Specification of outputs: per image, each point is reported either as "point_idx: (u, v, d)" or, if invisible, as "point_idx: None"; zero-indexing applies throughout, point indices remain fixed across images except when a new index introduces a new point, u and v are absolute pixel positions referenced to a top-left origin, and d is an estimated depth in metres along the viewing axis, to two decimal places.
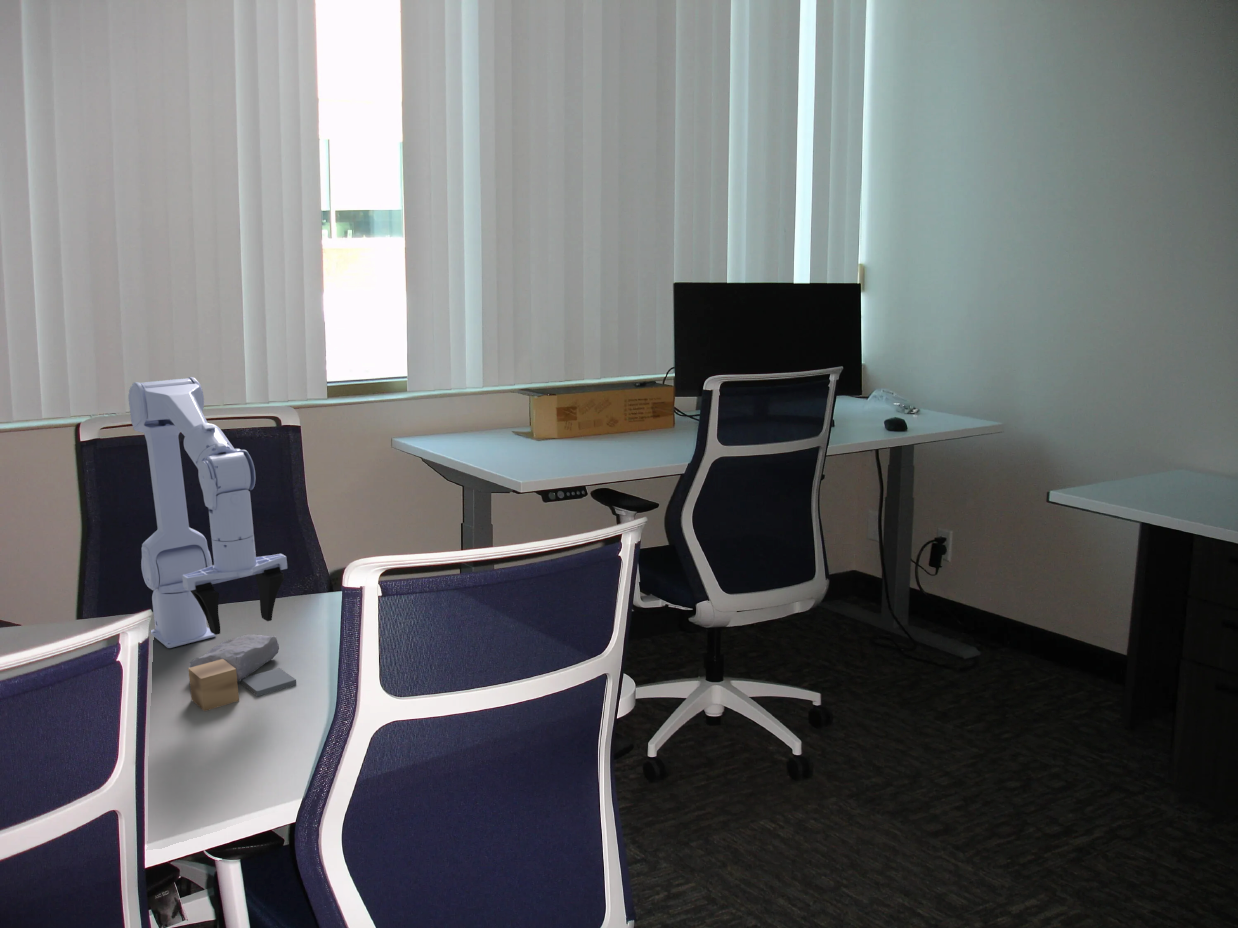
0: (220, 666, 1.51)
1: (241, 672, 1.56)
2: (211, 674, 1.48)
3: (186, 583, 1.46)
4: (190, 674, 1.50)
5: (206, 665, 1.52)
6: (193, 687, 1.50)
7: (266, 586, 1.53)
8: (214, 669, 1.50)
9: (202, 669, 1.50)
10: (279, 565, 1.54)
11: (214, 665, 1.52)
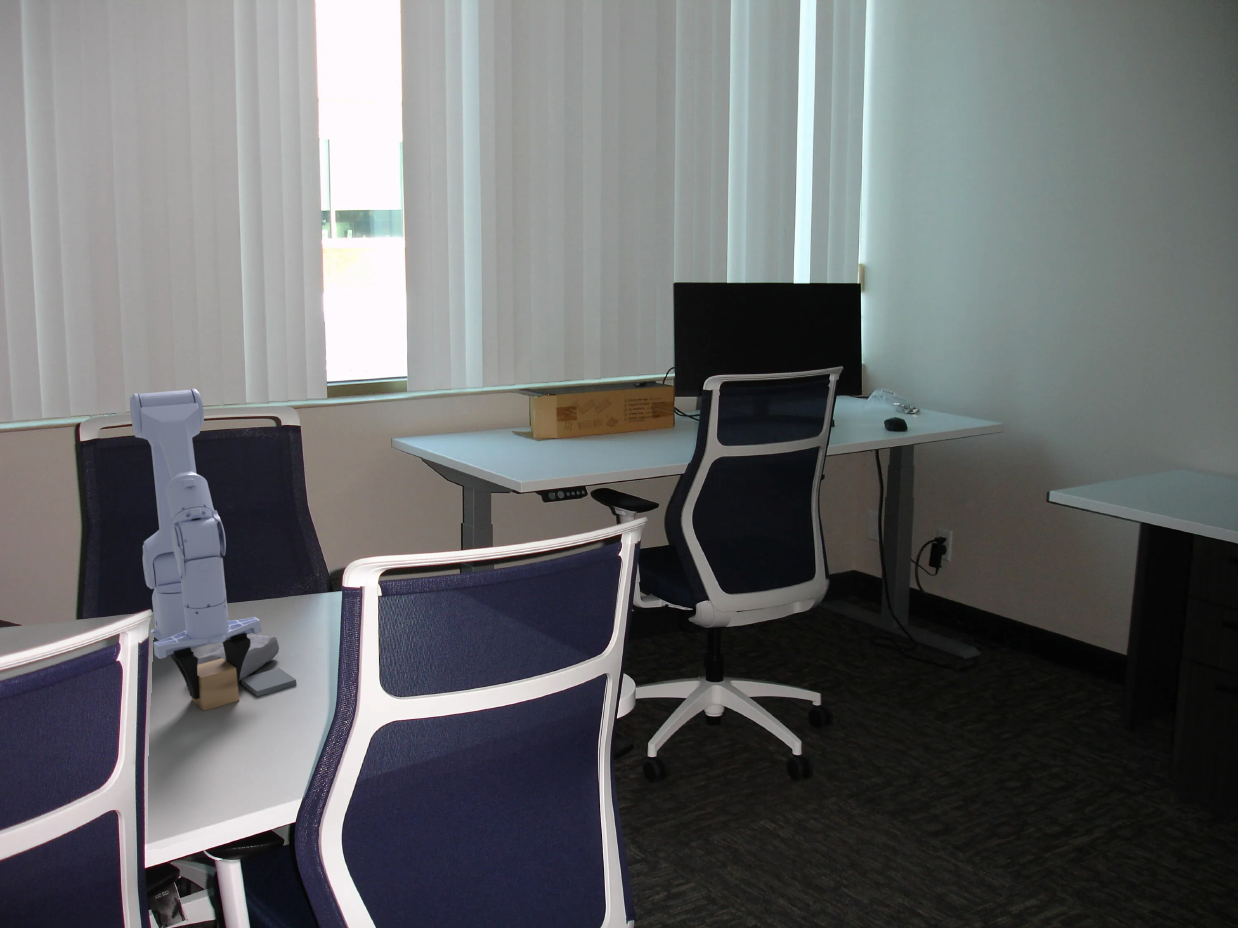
0: (220, 666, 1.51)
1: (242, 672, 1.56)
2: (211, 673, 1.48)
3: (157, 651, 1.44)
4: None
5: (206, 664, 1.52)
6: None
7: (232, 653, 1.51)
8: (214, 668, 1.50)
9: (202, 668, 1.50)
10: (253, 629, 1.53)
11: (214, 664, 1.52)
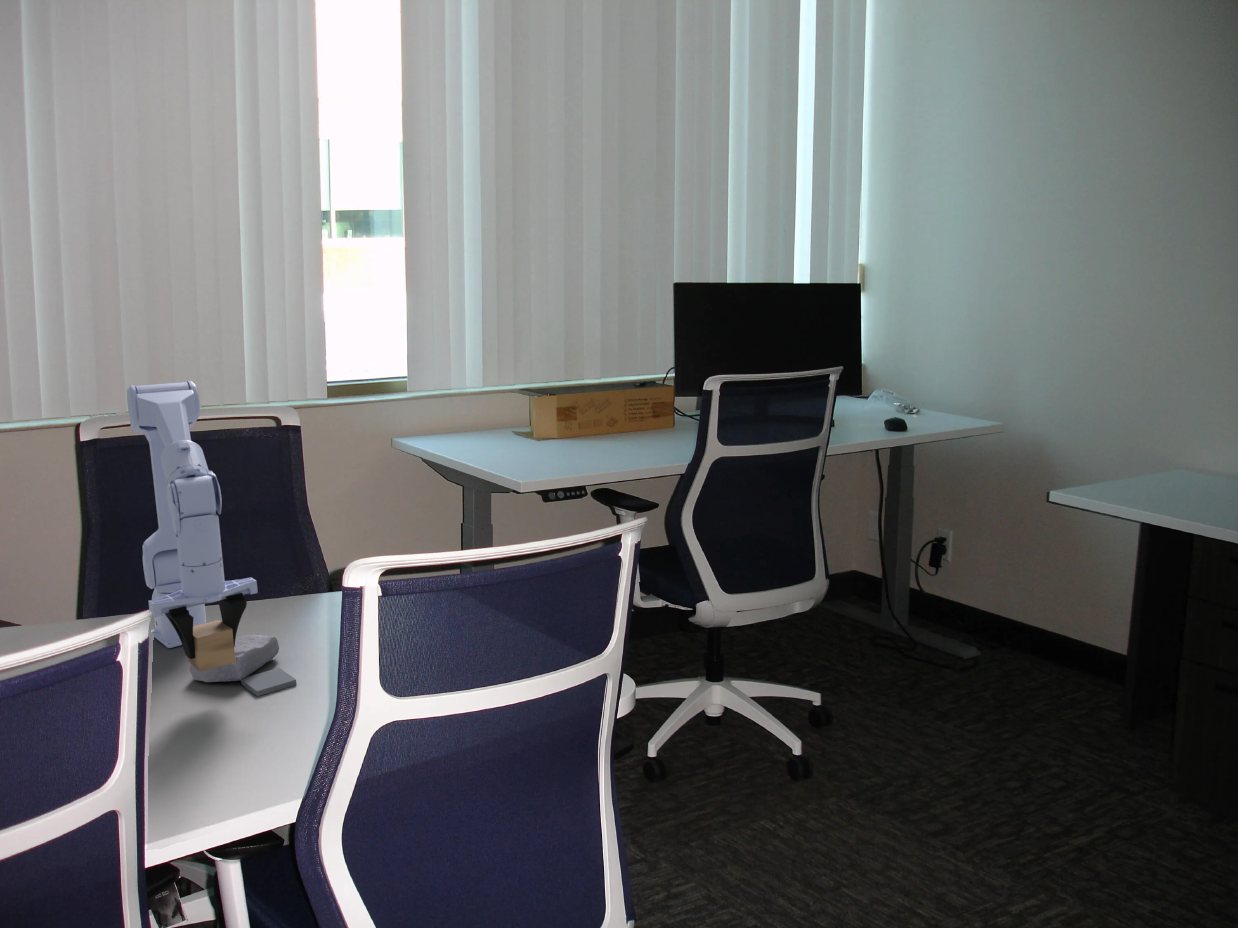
0: (217, 627, 1.50)
1: (242, 672, 1.56)
2: (207, 634, 1.47)
3: (152, 609, 1.43)
4: None
5: (202, 625, 1.50)
6: None
7: (228, 613, 1.50)
8: (210, 629, 1.49)
9: (198, 629, 1.49)
10: (249, 589, 1.52)
11: (210, 625, 1.50)
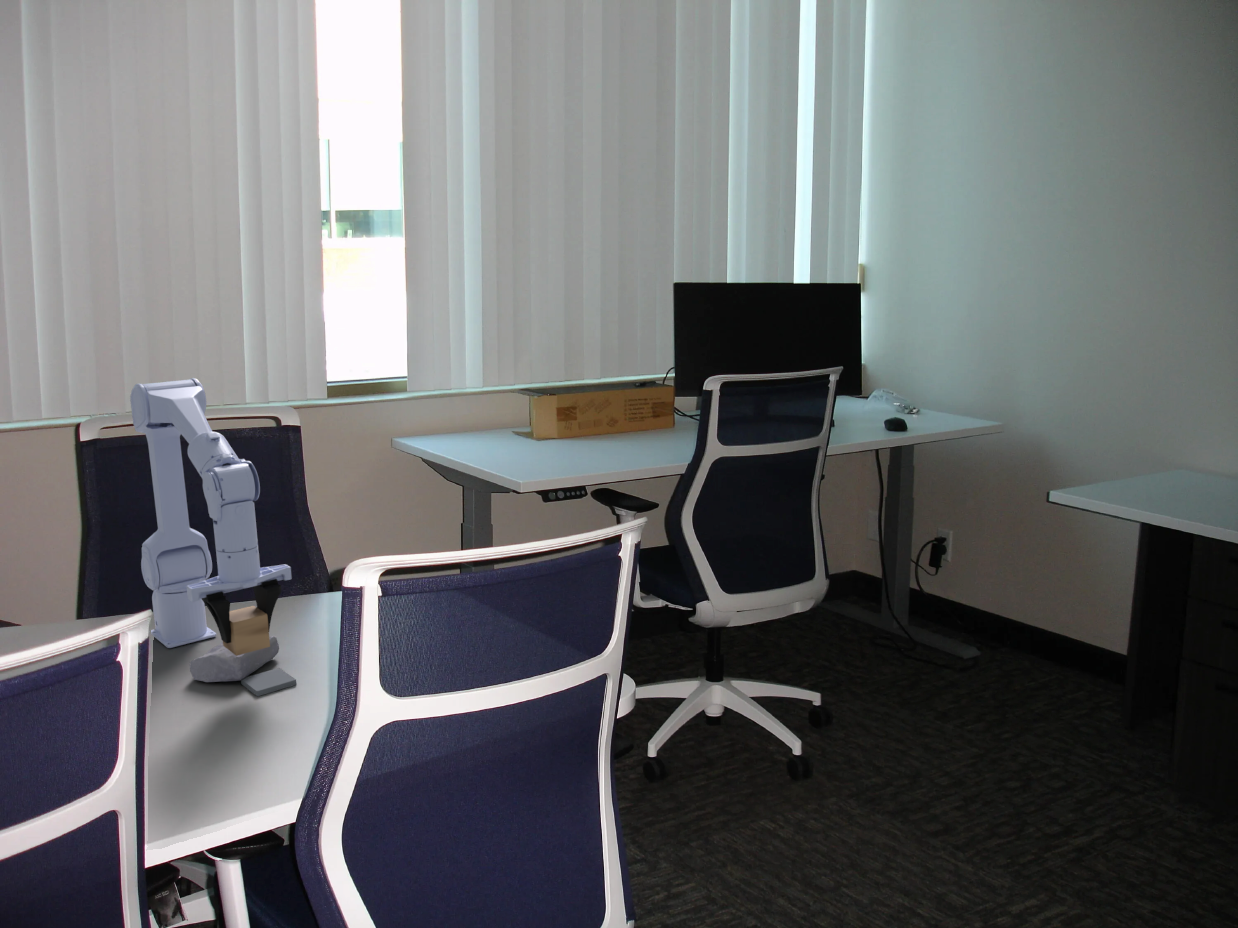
0: (252, 612, 1.53)
1: (242, 672, 1.56)
2: (243, 619, 1.50)
3: (190, 594, 1.46)
4: None
5: (238, 611, 1.53)
6: None
7: (263, 598, 1.53)
8: (245, 614, 1.52)
9: (234, 614, 1.52)
10: (283, 576, 1.55)
11: (245, 611, 1.53)
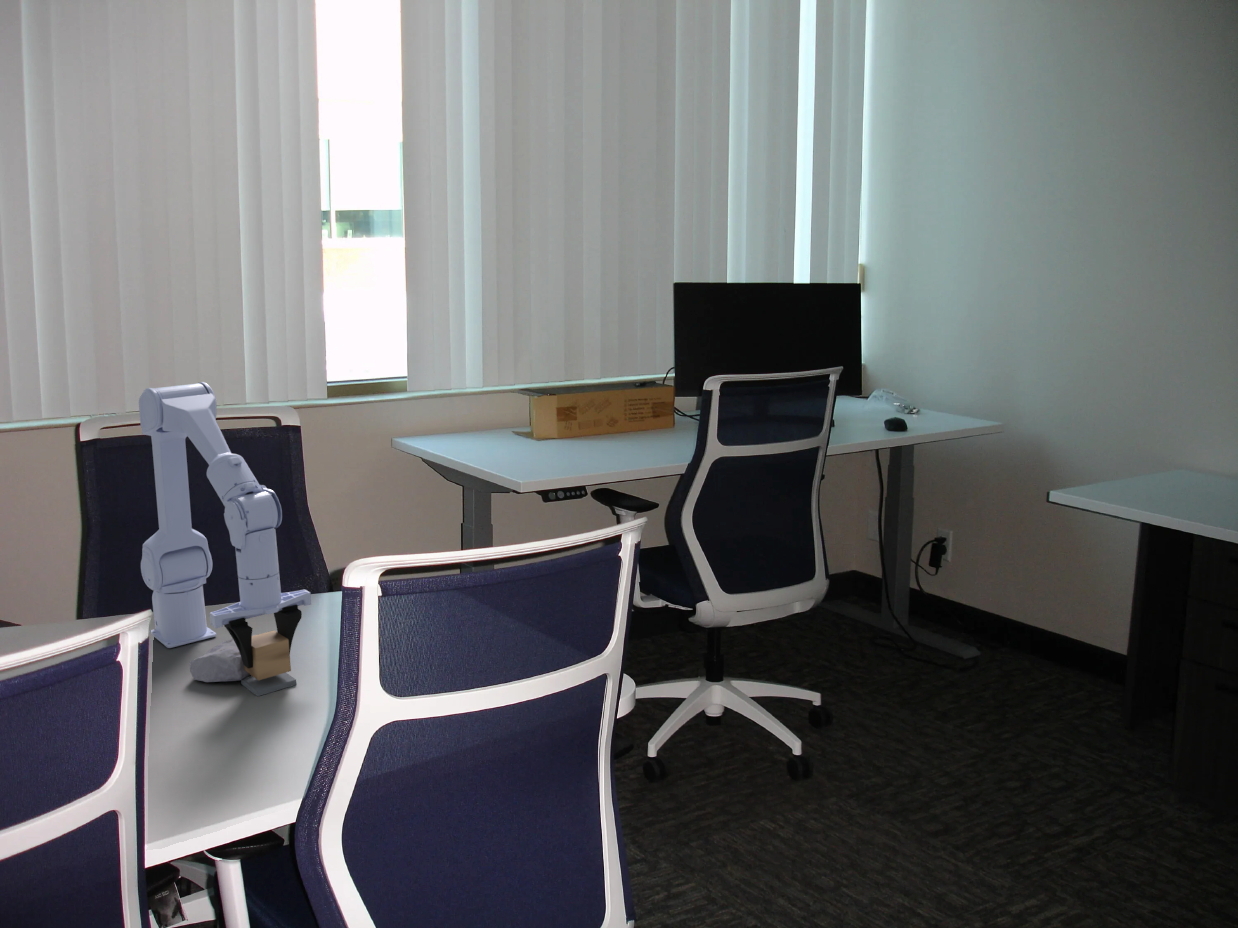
0: (273, 637, 1.56)
1: (242, 672, 1.56)
2: (265, 644, 1.53)
3: (213, 620, 1.49)
4: None
5: (259, 636, 1.56)
6: None
7: (284, 624, 1.55)
8: (267, 639, 1.55)
9: (255, 639, 1.55)
10: (303, 601, 1.58)
11: (266, 636, 1.56)
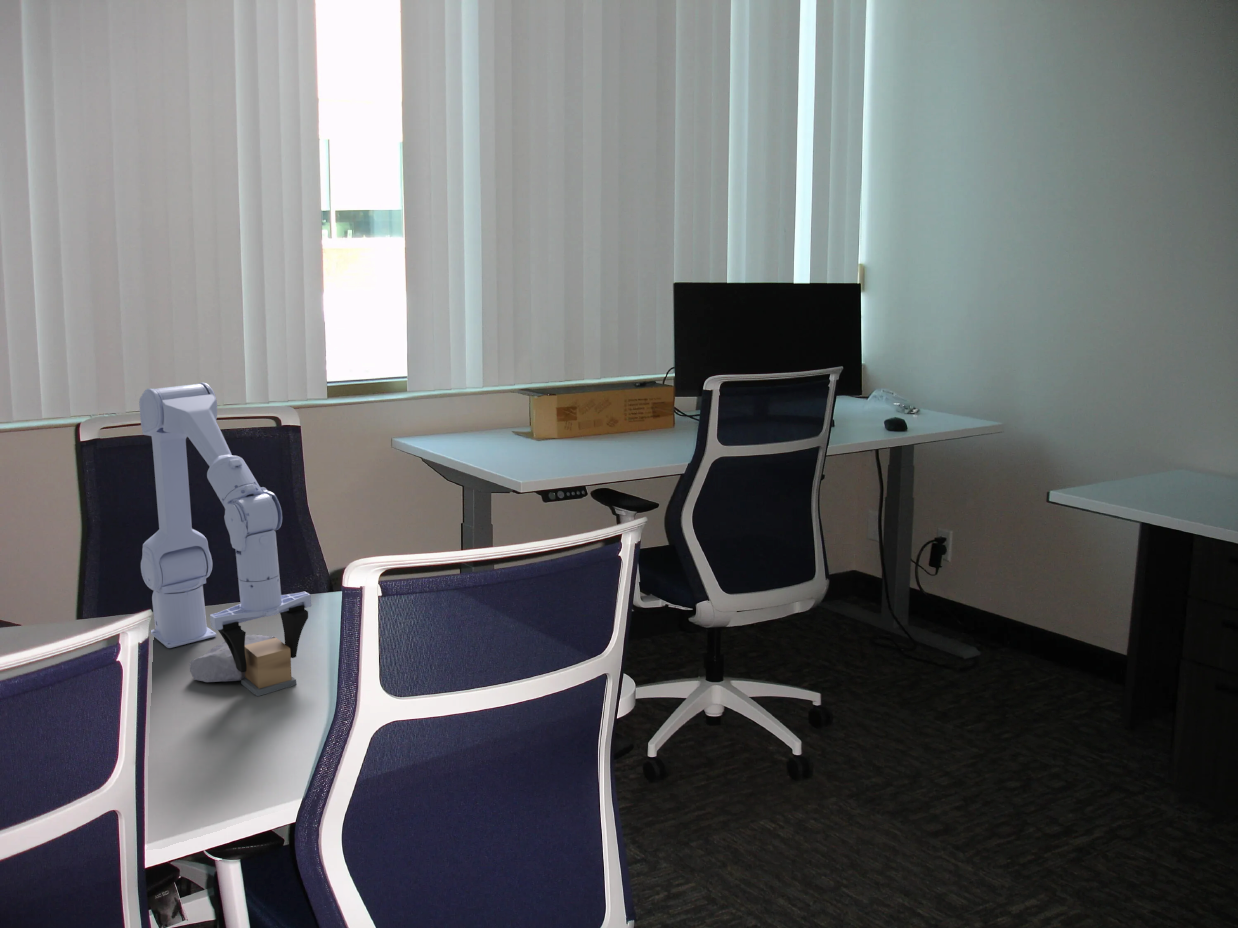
0: (275, 645, 1.56)
1: (242, 672, 1.56)
2: (267, 653, 1.53)
3: (214, 623, 1.49)
4: (245, 651, 1.55)
5: (261, 643, 1.56)
6: (247, 664, 1.55)
7: (291, 624, 1.56)
8: (269, 648, 1.55)
9: (257, 647, 1.55)
10: (303, 603, 1.58)
11: (268, 644, 1.56)
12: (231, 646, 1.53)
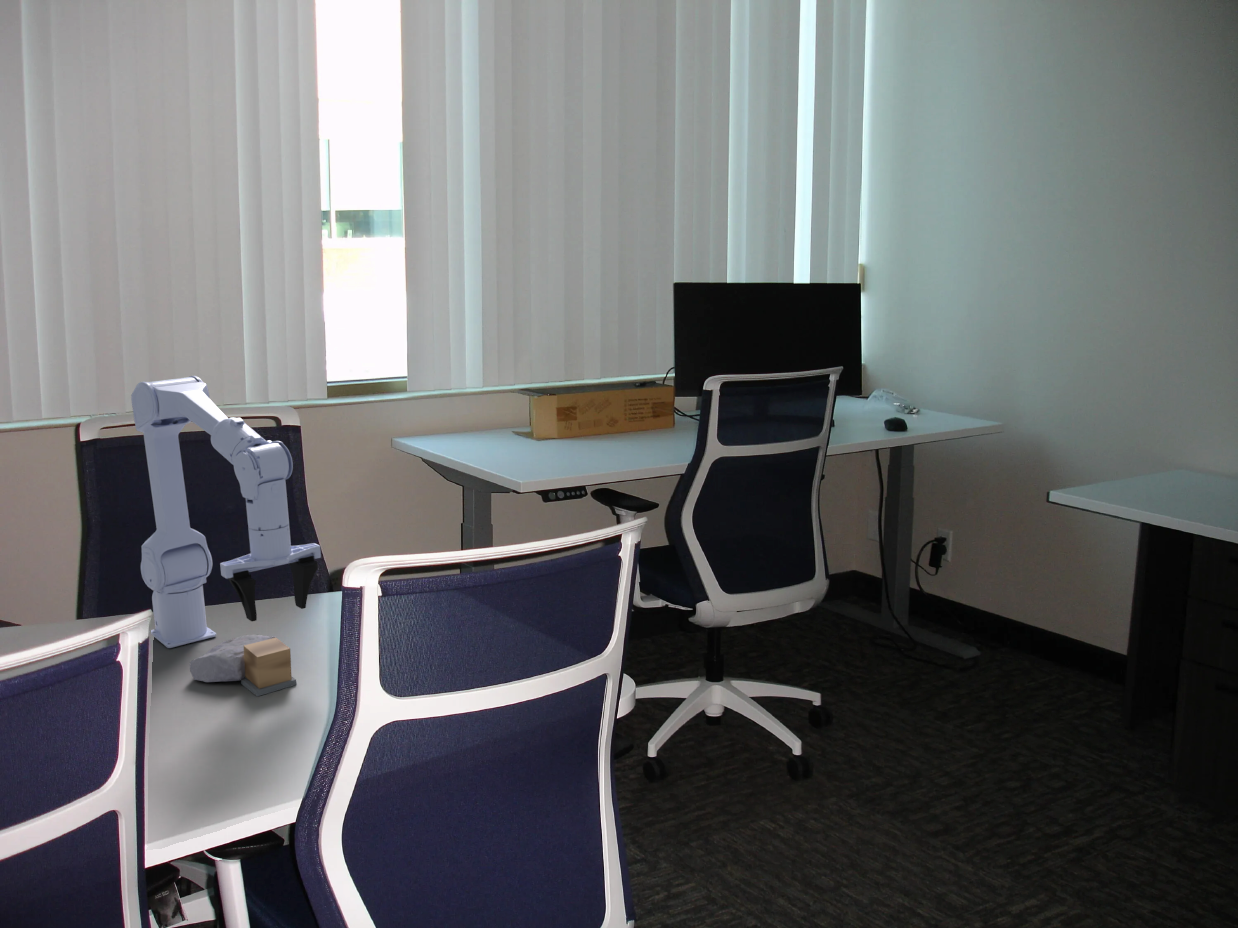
0: (275, 645, 1.56)
1: (242, 672, 1.56)
2: (267, 653, 1.53)
3: (224, 571, 1.50)
4: (245, 651, 1.55)
5: (261, 643, 1.56)
6: (247, 664, 1.55)
7: (300, 574, 1.57)
8: (269, 648, 1.55)
9: (257, 647, 1.55)
10: (313, 554, 1.58)
11: (268, 644, 1.56)
12: (241, 595, 1.54)
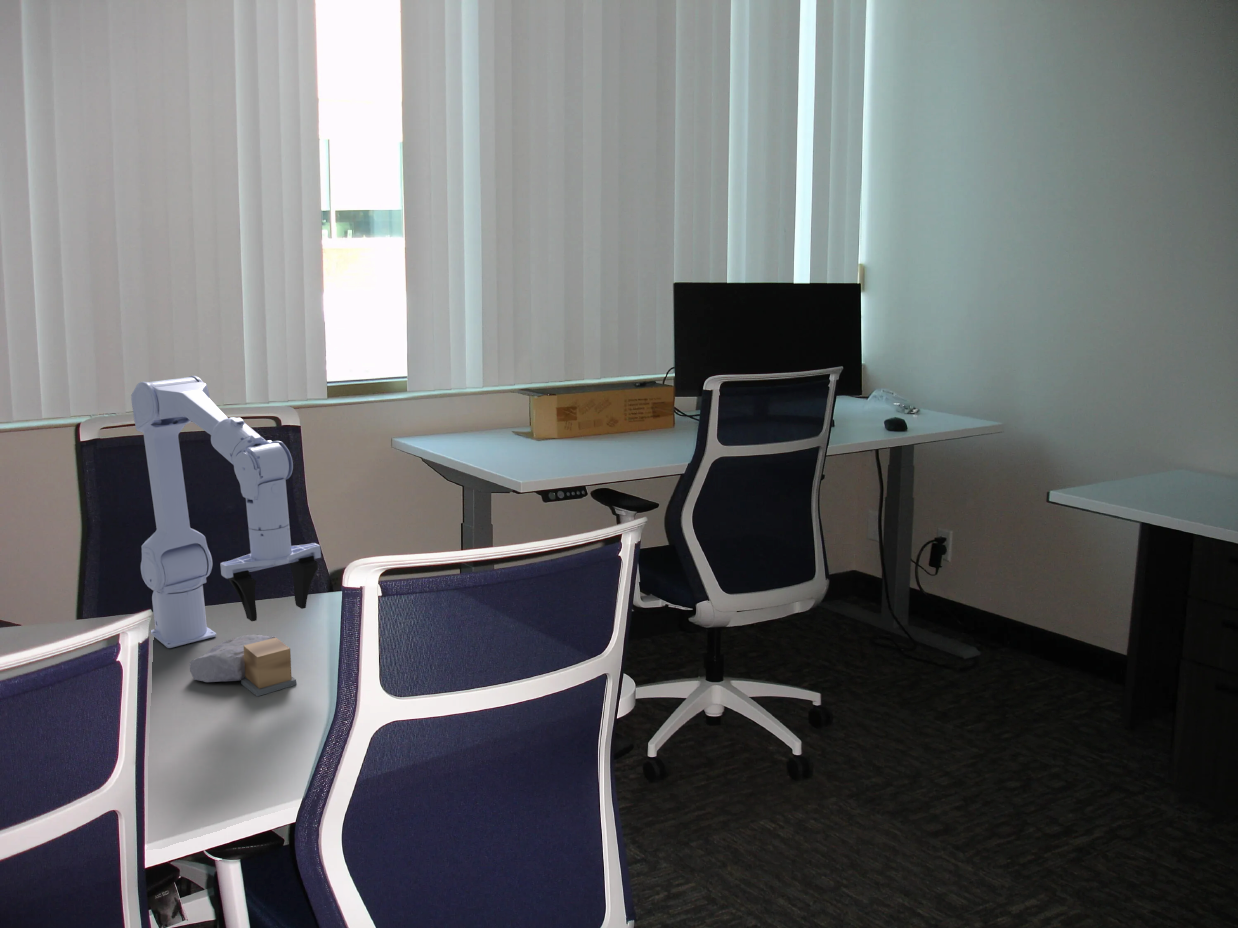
0: (275, 645, 1.56)
1: (242, 672, 1.56)
2: (267, 653, 1.53)
3: (224, 571, 1.50)
4: (245, 651, 1.55)
5: (261, 643, 1.56)
6: (247, 664, 1.55)
7: (301, 574, 1.57)
8: (269, 648, 1.55)
9: (257, 647, 1.55)
10: (313, 554, 1.58)
11: (268, 644, 1.56)
12: (241, 595, 1.54)
